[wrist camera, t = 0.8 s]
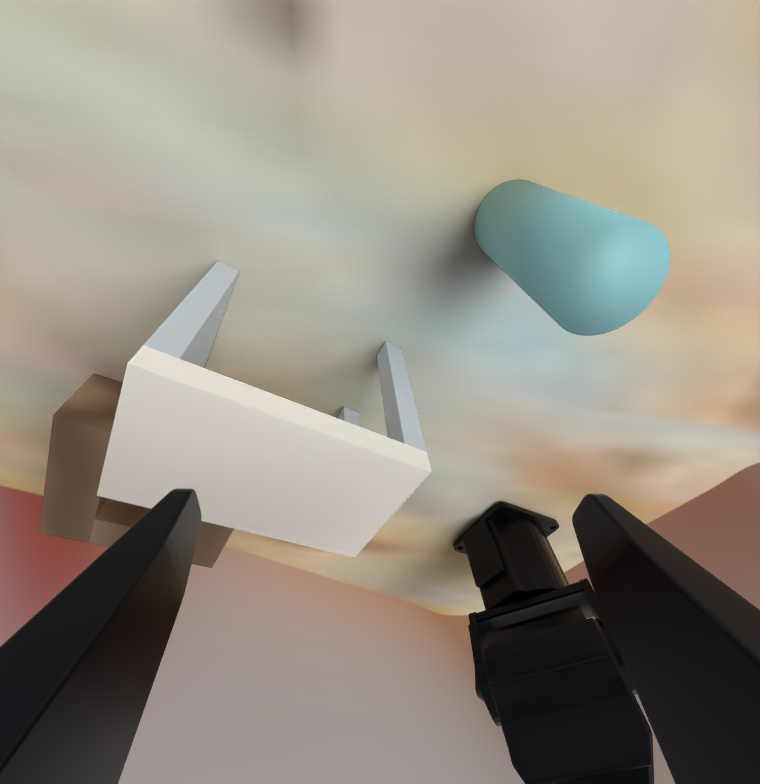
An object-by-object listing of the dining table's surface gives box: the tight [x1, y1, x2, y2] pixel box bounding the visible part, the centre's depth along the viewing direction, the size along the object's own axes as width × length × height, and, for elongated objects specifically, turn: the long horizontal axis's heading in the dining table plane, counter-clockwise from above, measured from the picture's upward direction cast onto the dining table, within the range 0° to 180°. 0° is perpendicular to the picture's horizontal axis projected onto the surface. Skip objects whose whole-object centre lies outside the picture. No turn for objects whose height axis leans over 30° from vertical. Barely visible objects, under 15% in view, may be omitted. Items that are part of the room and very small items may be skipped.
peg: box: [474, 180, 670, 336], centre depth 14 cm, size 3×3×8 cm
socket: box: [39, 374, 233, 568], centre depth 23 cm, size 10×10×4 cm
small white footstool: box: [97, 261, 431, 558], centre depth 17 cm, size 10×6×9 cm, turn 60°
